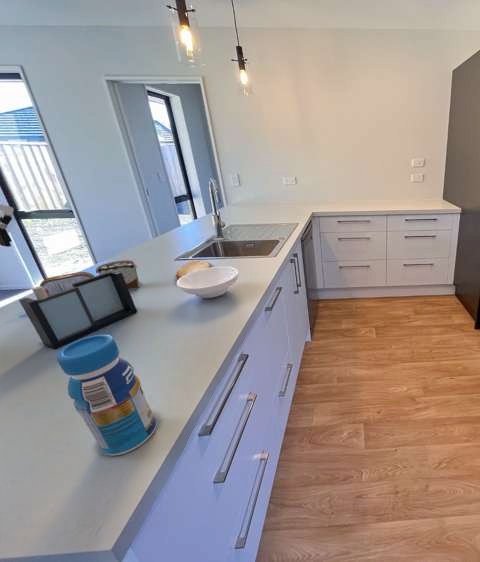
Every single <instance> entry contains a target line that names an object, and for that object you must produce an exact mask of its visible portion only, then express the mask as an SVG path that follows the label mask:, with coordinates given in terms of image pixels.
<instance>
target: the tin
mask: <svg viewBox="0 0 480 562" xmlns="http://www.w3.org/2000/svg"><path fill="white" fill-rule="evenodd" d="M95 276H96V275H94V274H92V272H91V273H90V272H88V271H77V272H72V273H66V274H61V275H55V276H50V277H47V278H45V279H43V280H42V281H41V283H39V287H40V286H41V287H42V288H43V289H44V291H45V293H46V295H47V296H50V295H53V294H56V293H59V292H62V291H65V290H68V289H71V288H74V287H73V286H72V284H73V283H76V282H79V281H82V280H85V279H88V278H92V277H95Z"/></svg>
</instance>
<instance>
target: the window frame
mask: <svg viewBox="0 0 480 562" xmlns="http://www.w3.org/2000/svg"><path fill="white" fill-rule="evenodd" d="M94 276H95V277H92V278H88V279H85V280H82V281H79V282H76V283H73V284H72V286H73V287H78V288H79V290H80V292H81V294H82V297H83V299H84V301H85V303H86V305H87V307H88V309H89V311H90V314H91V316H92V318H93V320H94V322H95V324H94V325H91V326H88V327H86V328H84V329H81V330H79V331H77V332H74V333H72V334H70V335H68V336H65V337H63V338H61V339H57V337H56V335H55V333H54V331H53V330H52V328H51V326H50V324H49V322H48V320H47V319H46V317H45V315H44V313H43V311H42V309H41V308H40V306H39V304H38V302H37V301H36V300H37V299H33V298H30V297H23V298H20V299H18V301H19V303H20V305H21V307H22V308H23V311H24V312H25V314H26V315H27V318H28V319H29V321H30V322H31V325H32V326H33V327H34V329H35V331H36V334H37V335H38V337H39V338H40V340H41V342H42V344H43V345H44V347H47V348H49V349H52V350H57V349H59V348H62V347H63V346H64V347H65V346H67V345H69V344H71V343H73V342H75V341H77V340H80V339H82V338H85V337H86V336H88V335H91V334H92V333H94V332H97V331H99V330H101V329H103V328H106V327H108V326H110V325H112V324H114V323H117V322H119V321H122V320H123V319H125V318H128V317H130V316H132V315H135V314H136V313H138V310H137V307H136V305H135V303H134V300H133V298H132V294H131V293H130V290H128V287H127V285H126V282H125V280H124V277H123V275H122V272H117V271H112V270H111V271H108V272H106V273H104V274H101V275H99V274H97V275H94Z"/></svg>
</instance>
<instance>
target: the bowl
mask: <svg viewBox="0 0 480 562" xmlns="http://www.w3.org/2000/svg"><path fill="white" fill-rule="evenodd" d="M238 278H239V270H238V269H237V268H235V267H231V266H211V268H205V269H201V270H197V271H194V272H191V273H188V274H186V275H184V276H182V277H181V278H180V279H179V280H176V286H177V287H178V288H179V289H180V290H181V291H182V292H184V293H185V294H190V295H195V296H196V297H198V298H200V299H213V298H218V297H219V296H222V295H224V294H225V293H227V292H228V290H229V288H230V287H231V286H233V285H234V284H235V283H236V282H237V280H238Z"/></svg>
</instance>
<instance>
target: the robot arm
mask: <svg viewBox="0 0 480 562" xmlns="http://www.w3.org/2000/svg"><path fill="white" fill-rule="evenodd" d="M14 210H15V208H14V207H12V206H9V205H5V204H0V211H1V216H0V246H2V247H7V248H9V247H12V244H11V242H12V241H13V240H12V238H11V236H10V234H9V232H8V231H7V229H8V225H9V224H10V223H11V221H12V220H13V214H14Z"/></svg>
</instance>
